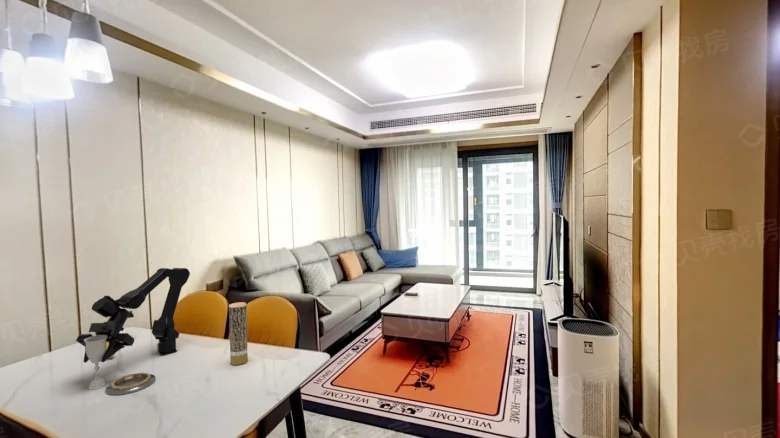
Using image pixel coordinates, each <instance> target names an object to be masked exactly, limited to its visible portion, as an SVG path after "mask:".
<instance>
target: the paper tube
mask: <svg viewBox="0 0 780 438" xmlns="http://www.w3.org/2000/svg"><path fill="white" fill-rule="evenodd" d="M247 313H248V312H247V302H245V301H244V302H243V301H241V302H239V301H238V302H233V303H230V304H229V305H228V314H229V315H228V317H229V320H228V321H229V352H230V353H229V355H230V357H229V358H230V364H231V365H233V366H241V365H243V364H244V365H245V363H247V362H248V359H249V357H248V354H249V353H248V350H249V349H248V321H247V320H248V317H247V316H248V314H247Z"/></svg>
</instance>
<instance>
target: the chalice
mask: <svg viewBox="0 0 780 438" xmlns="http://www.w3.org/2000/svg"><path fill="white" fill-rule="evenodd" d="M107 337H108V336H107V335H96V334H95V335H93V336H91V337H88V338H86V339H84V342H85V343H86V354H87V356H88V358H89V360H88V361H90V363H92V364H94V368H93V369H94V370H95V371H94V373H93V374H94V377H95V378H94V379H92V380H91V381H90V383H89V386H88V389H89V390H96V389H100V388H102V387H105V385H106V381H105V379H104V378H102V377H100V376H99V375H100V373H101V372H100V371H99V369H100V366H99V363H100V362H101V360H102V358H103V356H104V354H105V352H106V339H107ZM101 363H102V362H101Z"/></svg>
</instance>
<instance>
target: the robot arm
mask: <svg viewBox="0 0 780 438" xmlns="http://www.w3.org/2000/svg"><path fill="white" fill-rule="evenodd" d="M190 275H191V272H190V271H189V269H188V268H186V267H173V268H166V267H160V268H158V269H157V270H156V272H154V274H152V275H151V276H150V277H148V278H147V279H146V280H145V281H144V282H143V283H141V285H139V286H138V287H136V288H135V289H133V290H130V291H128V292H126V293H125V294H122V295H121V296H120V297H119V298H118V299H114V298H112V297H111V296H110V295H104V296H103V297H102V298H99V299H97V301H95V302H94V303H93V304H92V307H91V310H92V311H93V312H95V313H97V314H98V315H100V316H101V317H102V318H108V319H107V321H104V322H91V323H90V327H89V330H88V333H81V334H79V335H78V336H77V338H76V339H75V342H77V343H79V344H80V345H81V346H83V347H84V349H85V350H84V354H83V355H84V356H83V363H85V364H86V363H88V361H90V360H89V358H88V356H87V354H86V343H85V342H84V339H86V338H88V337H91V336H94V335H95V336H96V335H107V336H108V337H107V339H106V342H109V346H108V348H107V350H106V352H105V354H104V356H103V358H102V360H101V363H105V362H106V361H107V360H109V359H108V358H110V357H111V356H112V355H113V354H115V355H116V353H117V352H119V351H120V350H121V349H124V348H126V347H132V346H133V345H134V342H135V338H134V337H133V336H132V335H131V334H129V333H128V332H125V333H124V332H123V331H124V330H125V328H124V326H125V323H126V321H127V320H128V319H129V318H134V317H135V315H134V313H133V310H136V309H138V308H140V307H141V305H142V304H143V303H144V302H145V301H146V298H147V296H148V295H149V294H150V293H151V292H152V291H153V290H154V289H155V288H156V287H158V286H159V285H160V284H161V283H162V282H163V281H165V280H167V278H168V283H169V288H168V291H167V293H166V294H167V295H166V298H165V301H164V306H163V309H162V312H161V315H160V317H159V318H158V319H154V321H153V324H152V326H151V328H150V329H151V334H152V335H153V336H154V338H155V339H154V340H156V341H157V340H158V342H157V344H156V349H157V353H158V354H159V355H160V356H164V355H168V354H172V353H175V352H178V349H177V339H178V338H179V336H180V332H179V331H177V330H176V329H175V327H176V326H175V321H174V320H175V319H174V315H175V312H176V308H177V305H178V302H179V298H180V294H181V291H182V289H183V287H184V285H185V284H187V282H188V280H189V277H190ZM128 309H129V310H128ZM120 332H121V333H120ZM92 333H95V334H94V335H93V334H92ZM112 357H113V356H112ZM112 357H111V358H112ZM111 358H110V359H111Z"/></svg>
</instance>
